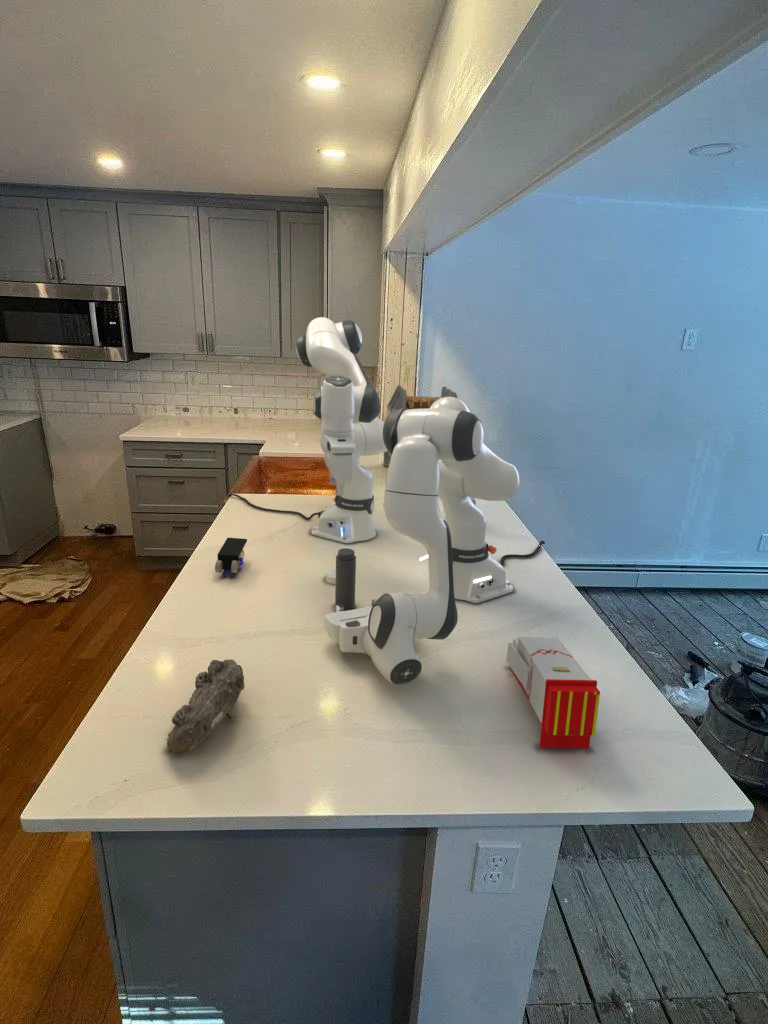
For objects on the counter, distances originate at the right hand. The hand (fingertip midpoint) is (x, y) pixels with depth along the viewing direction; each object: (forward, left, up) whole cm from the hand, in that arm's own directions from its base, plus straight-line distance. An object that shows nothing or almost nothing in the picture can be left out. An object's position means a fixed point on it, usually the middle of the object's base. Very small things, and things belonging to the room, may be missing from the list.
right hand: (356, 604), depth 140 cm
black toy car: (+24, -41, -6) cm, 47 cm away
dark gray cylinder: (0, -9, -6) cm, 10 cm away
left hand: (-3, -25, +22) cm, 33 cm away
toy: (-26, +40, -6) cm, 48 cm away
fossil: (+37, +23, -6) cm, 44 cm away
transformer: (-77, -121, -6) cm, 143 cm away
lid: (-3, -25, -4) cm, 26 cm away
